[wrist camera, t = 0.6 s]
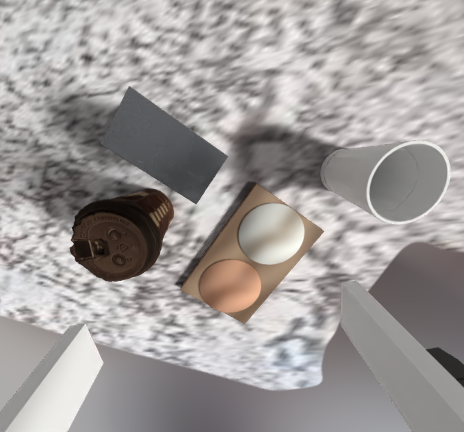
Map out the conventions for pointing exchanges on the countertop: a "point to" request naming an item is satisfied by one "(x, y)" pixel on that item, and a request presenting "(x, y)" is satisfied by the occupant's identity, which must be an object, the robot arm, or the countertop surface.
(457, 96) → the countertop surface
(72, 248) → the coffee cup
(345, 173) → the cup
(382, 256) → the countertop surface
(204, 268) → the walnut board
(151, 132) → the miniature fireplace
